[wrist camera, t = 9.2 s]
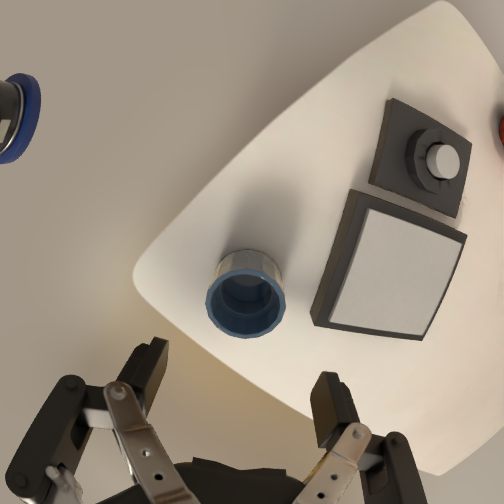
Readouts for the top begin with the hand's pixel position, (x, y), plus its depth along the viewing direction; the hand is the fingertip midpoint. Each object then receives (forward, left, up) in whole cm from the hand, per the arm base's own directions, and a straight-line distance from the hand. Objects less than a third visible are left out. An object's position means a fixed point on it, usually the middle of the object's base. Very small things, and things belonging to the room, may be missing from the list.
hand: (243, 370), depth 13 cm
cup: (0, 0, -12) cm, 12 cm away
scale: (+13, +4, -12) cm, 18 cm away
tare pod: (+13, +15, -12) cm, 23 cm away
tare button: (+13, +15, -9) cm, 22 cm away
